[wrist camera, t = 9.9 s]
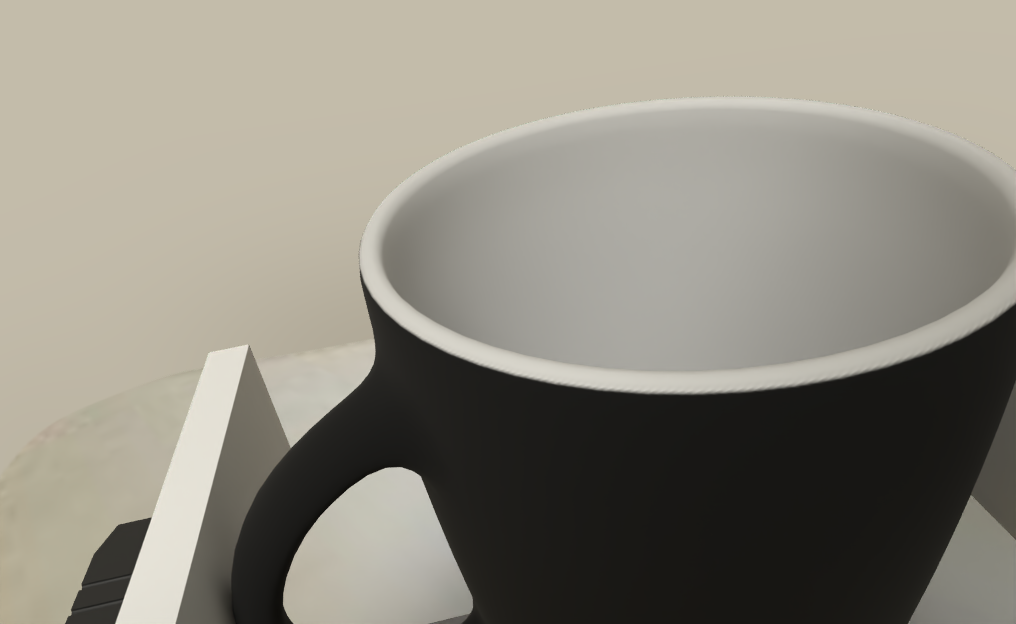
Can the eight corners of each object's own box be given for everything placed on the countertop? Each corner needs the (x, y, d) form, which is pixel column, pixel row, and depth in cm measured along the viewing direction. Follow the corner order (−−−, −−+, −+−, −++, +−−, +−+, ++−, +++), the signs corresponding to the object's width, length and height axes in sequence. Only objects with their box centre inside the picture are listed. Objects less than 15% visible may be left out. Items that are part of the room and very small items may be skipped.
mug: (704, 428, 20) (711, 68, 15) (1019, 698, 13) (1249, 193, 8) (293, 625, 17) (106, 239, 11) (422, 1148, 9) (81, 776, 4)
